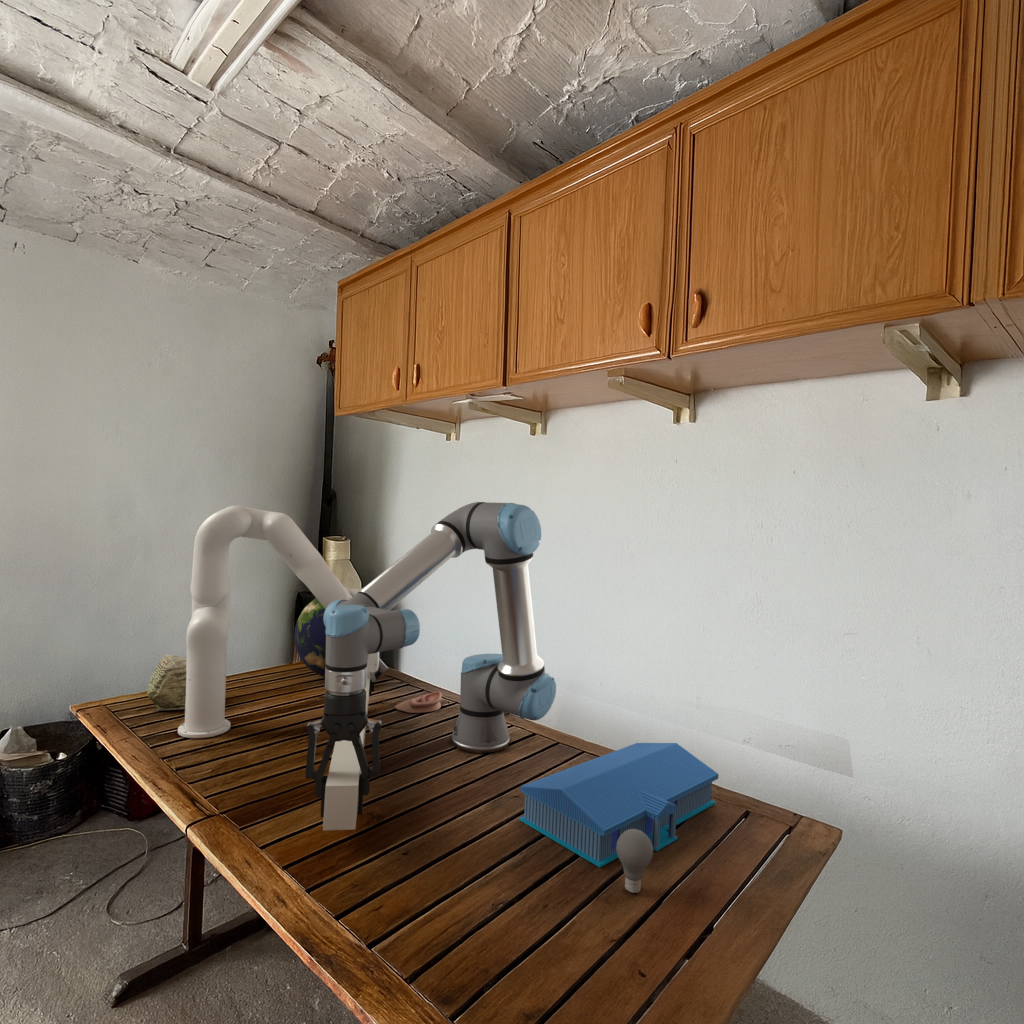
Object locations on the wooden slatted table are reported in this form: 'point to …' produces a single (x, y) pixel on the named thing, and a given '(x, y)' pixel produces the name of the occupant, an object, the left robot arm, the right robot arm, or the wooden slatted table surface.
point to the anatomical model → (421, 703)
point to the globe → (312, 637)
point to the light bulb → (634, 857)
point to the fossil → (169, 683)
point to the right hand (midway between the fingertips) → (342, 812)
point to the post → (343, 783)
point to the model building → (619, 799)
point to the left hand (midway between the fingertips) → (359, 693)
